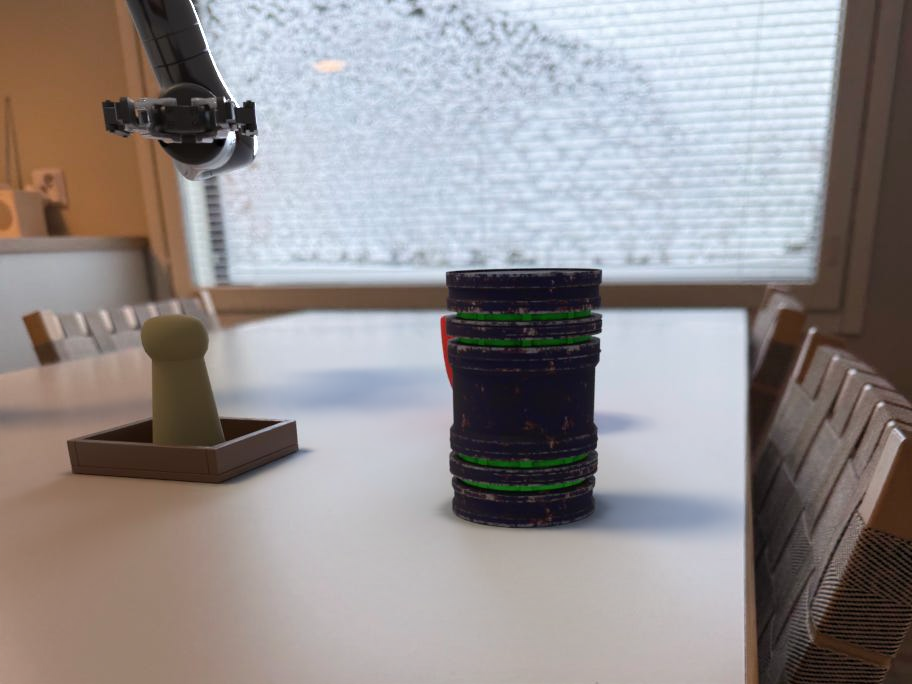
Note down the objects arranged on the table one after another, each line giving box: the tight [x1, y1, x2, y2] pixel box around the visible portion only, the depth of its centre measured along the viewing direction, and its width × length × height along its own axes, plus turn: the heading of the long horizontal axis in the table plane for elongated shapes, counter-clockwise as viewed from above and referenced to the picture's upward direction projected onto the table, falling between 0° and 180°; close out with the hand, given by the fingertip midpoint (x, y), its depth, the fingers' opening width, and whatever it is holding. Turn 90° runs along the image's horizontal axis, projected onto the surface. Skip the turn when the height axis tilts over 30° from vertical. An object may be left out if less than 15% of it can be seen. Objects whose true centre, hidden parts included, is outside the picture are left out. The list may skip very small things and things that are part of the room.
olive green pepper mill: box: [140, 313, 225, 447], centre depth 78 cm, size 6×6×11 cm
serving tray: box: [66, 416, 300, 484], centre depth 79 cm, size 14×13×3 cm
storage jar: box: [445, 267, 603, 528], centre depth 62 cm, size 10×10×15 cm
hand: (173, 110), depth 87 cm, fingers open, 8 cm apart
